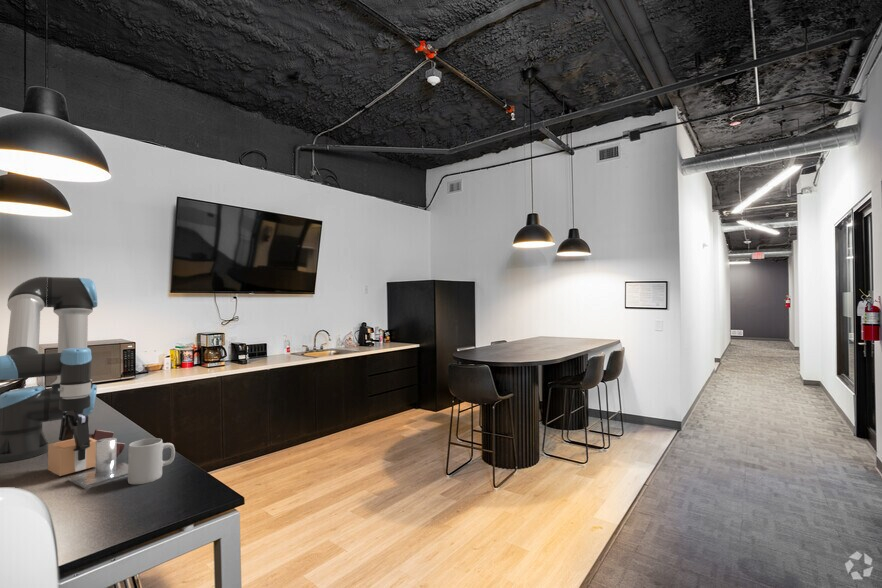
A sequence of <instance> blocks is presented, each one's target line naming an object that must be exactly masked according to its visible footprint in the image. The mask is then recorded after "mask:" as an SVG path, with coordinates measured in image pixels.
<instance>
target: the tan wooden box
mask: <svg viewBox="0 0 882 588" xmlns="http://www.w3.org/2000/svg"><path fill="white" fill-rule="evenodd" d="M89 440H90V447H88V448H86V469H83V470H82V471H84V470H87V469H90V468H91V469H92V468H95V464H96V441H97V440H95V439H92V438H89ZM83 445H84V444H83ZM74 449H76V444H75V439H70V440H65V441H56V442H52V443H48V451H47V470H48V471H49V472H52V473H53V474H56V476H57V475H58V476H60V477H61V476H65V475H69V474H72V473H76V472H75V471H74V460H75V451H73V450H74Z"/></svg>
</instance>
